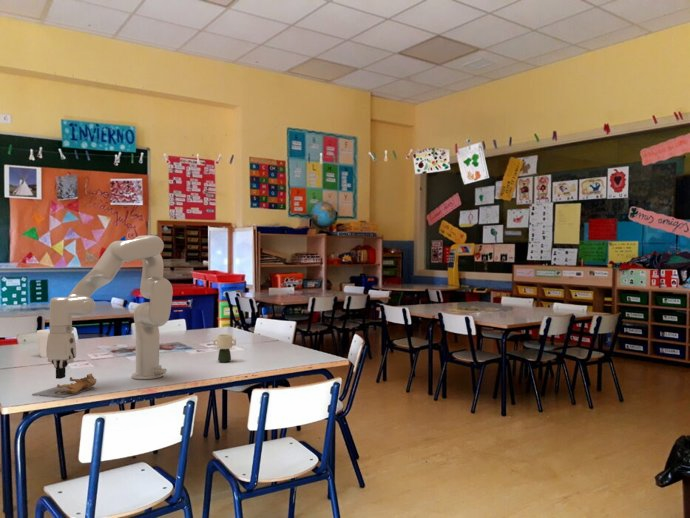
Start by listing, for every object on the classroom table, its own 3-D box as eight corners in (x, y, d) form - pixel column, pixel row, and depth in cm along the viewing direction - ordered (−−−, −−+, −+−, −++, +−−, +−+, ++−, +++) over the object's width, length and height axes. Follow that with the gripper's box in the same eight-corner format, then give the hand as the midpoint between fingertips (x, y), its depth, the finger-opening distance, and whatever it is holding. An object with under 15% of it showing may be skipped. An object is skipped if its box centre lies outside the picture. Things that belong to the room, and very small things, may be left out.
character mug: (236, 360, 277) (237, 334, 277) (234, 363, 270) (235, 336, 270) (214, 360, 277) (214, 334, 276) (211, 363, 269) (212, 336, 269)
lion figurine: (76, 369, 219) (98, 373, 218) (77, 381, 221) (98, 385, 220) (52, 387, 205) (75, 391, 204) (53, 400, 207) (76, 404, 206)
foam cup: (48, 358, 279) (48, 332, 279) (32, 357, 281) (32, 331, 281) (61, 354, 289) (61, 329, 288) (46, 354, 290) (46, 328, 290)
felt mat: (94, 387, 220) (94, 386, 220) (63, 397, 204) (63, 396, 204) (64, 385, 223) (64, 384, 223) (32, 395, 208) (32, 394, 208)
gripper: (84, 329, 216) (84, 377, 216) (51, 327, 219) (51, 374, 220) (70, 331, 208) (70, 381, 209) (36, 330, 212) (36, 378, 212)
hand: (60, 377), depth 214 cm, fingers closed
